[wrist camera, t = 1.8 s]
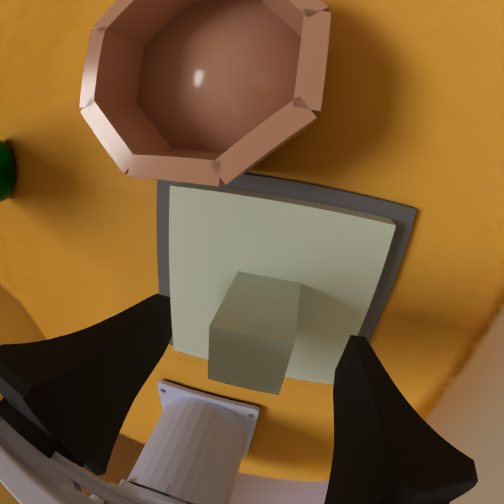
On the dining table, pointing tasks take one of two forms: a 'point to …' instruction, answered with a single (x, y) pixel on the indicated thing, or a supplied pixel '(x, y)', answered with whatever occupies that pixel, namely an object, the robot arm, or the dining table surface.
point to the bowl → (203, 83)
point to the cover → (269, 282)
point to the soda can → (6, 171)
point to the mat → (313, 193)
